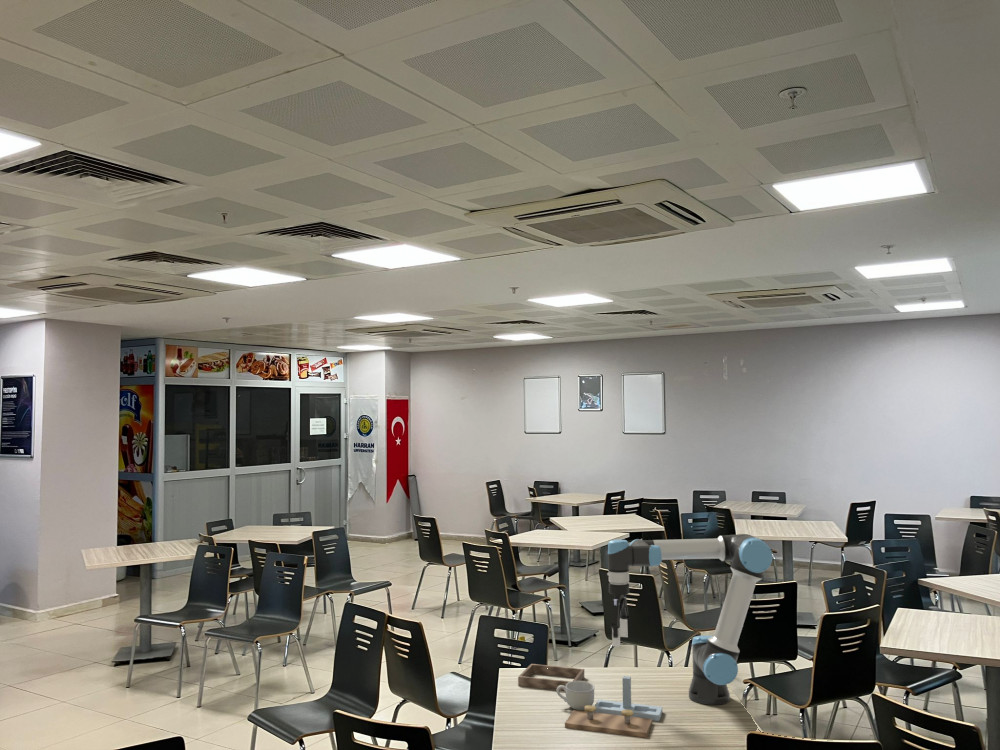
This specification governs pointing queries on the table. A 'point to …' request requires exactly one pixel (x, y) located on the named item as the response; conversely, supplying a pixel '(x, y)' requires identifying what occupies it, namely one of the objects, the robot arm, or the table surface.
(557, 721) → the table surface
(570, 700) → the teacup
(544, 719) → the table surface
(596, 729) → the boss board
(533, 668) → the open brown wooden frame
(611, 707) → the blue post stand
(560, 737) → the table surface
